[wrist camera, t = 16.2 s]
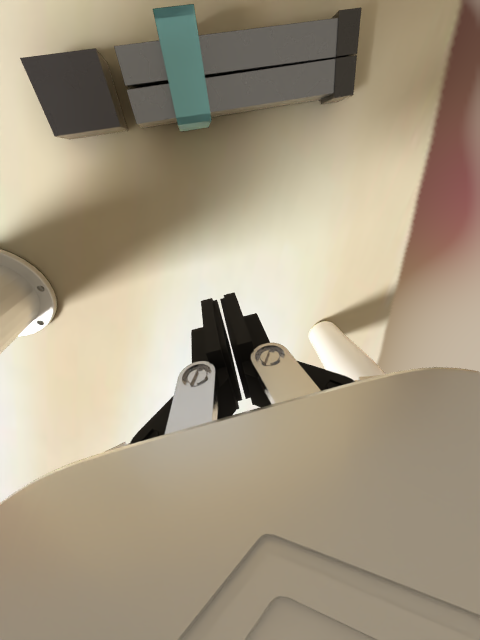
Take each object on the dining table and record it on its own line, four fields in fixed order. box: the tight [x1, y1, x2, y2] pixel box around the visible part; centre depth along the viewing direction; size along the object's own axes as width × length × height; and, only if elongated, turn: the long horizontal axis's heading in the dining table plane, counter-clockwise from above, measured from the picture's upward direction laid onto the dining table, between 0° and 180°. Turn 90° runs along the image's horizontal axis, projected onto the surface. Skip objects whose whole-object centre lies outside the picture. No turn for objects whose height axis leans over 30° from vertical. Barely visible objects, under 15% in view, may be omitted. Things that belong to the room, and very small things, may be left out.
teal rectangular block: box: [153, 4, 211, 131], centre depth 22 cm, size 3×7×5 cm, turn 7°
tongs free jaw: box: [127, 55, 357, 128], centre depth 24 cm, size 22×3×3 cm, turn 97°
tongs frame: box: [20, 8, 361, 139], centre depth 23 cm, size 29×6×3 cm, turn 97°
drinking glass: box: [309, 321, 385, 380], centre depth 39 cm, size 7×7×15 cm
